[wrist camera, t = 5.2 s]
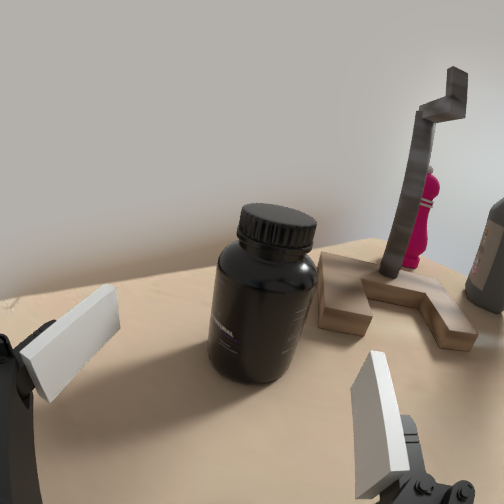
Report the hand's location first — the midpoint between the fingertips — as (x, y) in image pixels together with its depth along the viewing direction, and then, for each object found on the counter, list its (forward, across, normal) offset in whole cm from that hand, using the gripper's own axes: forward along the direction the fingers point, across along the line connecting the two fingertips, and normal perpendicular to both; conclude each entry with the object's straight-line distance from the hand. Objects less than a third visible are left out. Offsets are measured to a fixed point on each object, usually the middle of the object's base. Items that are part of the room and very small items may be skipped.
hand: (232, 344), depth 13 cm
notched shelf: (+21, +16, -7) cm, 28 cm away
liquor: (+31, +41, -7) cm, 52 cm away
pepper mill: (+42, +25, -7) cm, 50 cm away
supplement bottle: (+7, 0, -7) cm, 10 cm away
